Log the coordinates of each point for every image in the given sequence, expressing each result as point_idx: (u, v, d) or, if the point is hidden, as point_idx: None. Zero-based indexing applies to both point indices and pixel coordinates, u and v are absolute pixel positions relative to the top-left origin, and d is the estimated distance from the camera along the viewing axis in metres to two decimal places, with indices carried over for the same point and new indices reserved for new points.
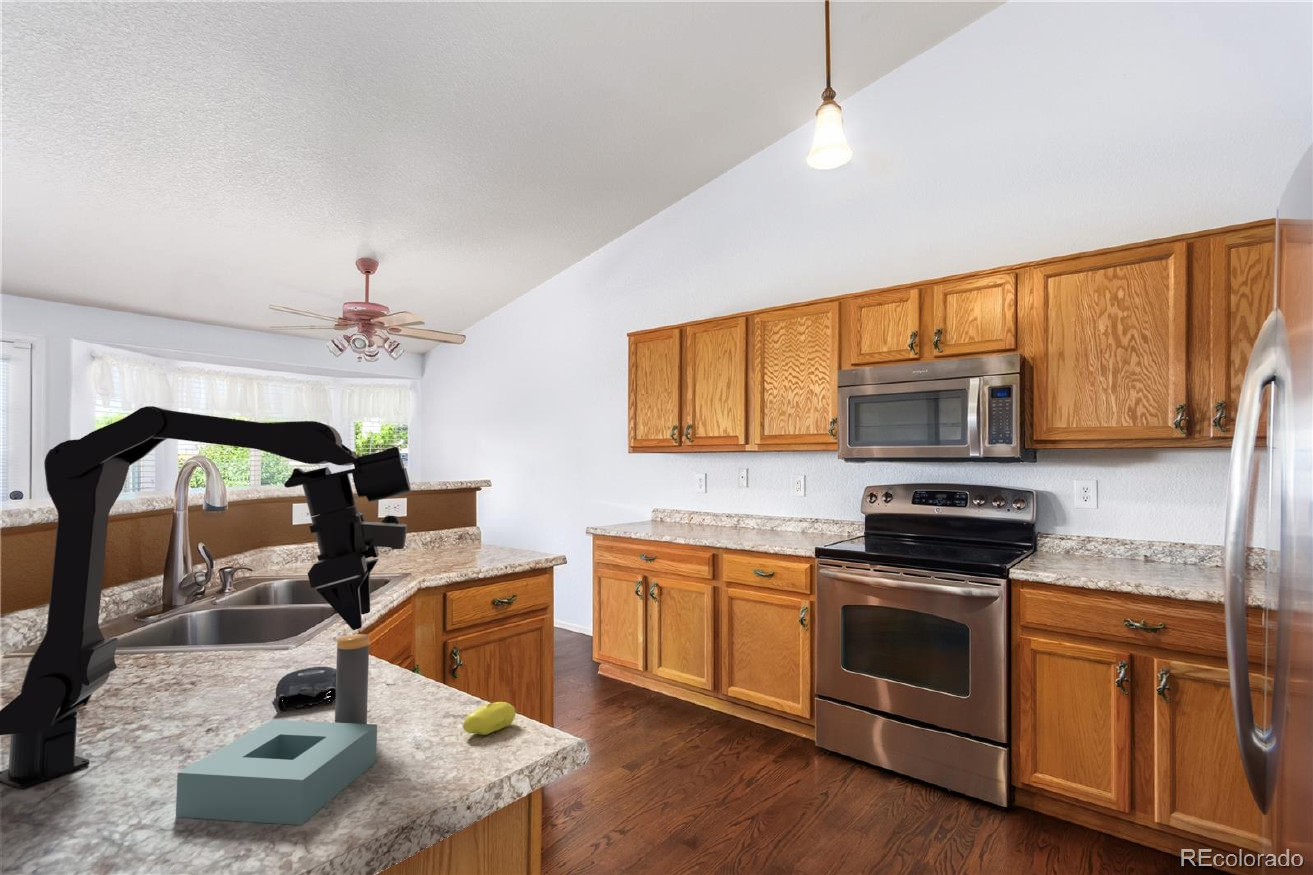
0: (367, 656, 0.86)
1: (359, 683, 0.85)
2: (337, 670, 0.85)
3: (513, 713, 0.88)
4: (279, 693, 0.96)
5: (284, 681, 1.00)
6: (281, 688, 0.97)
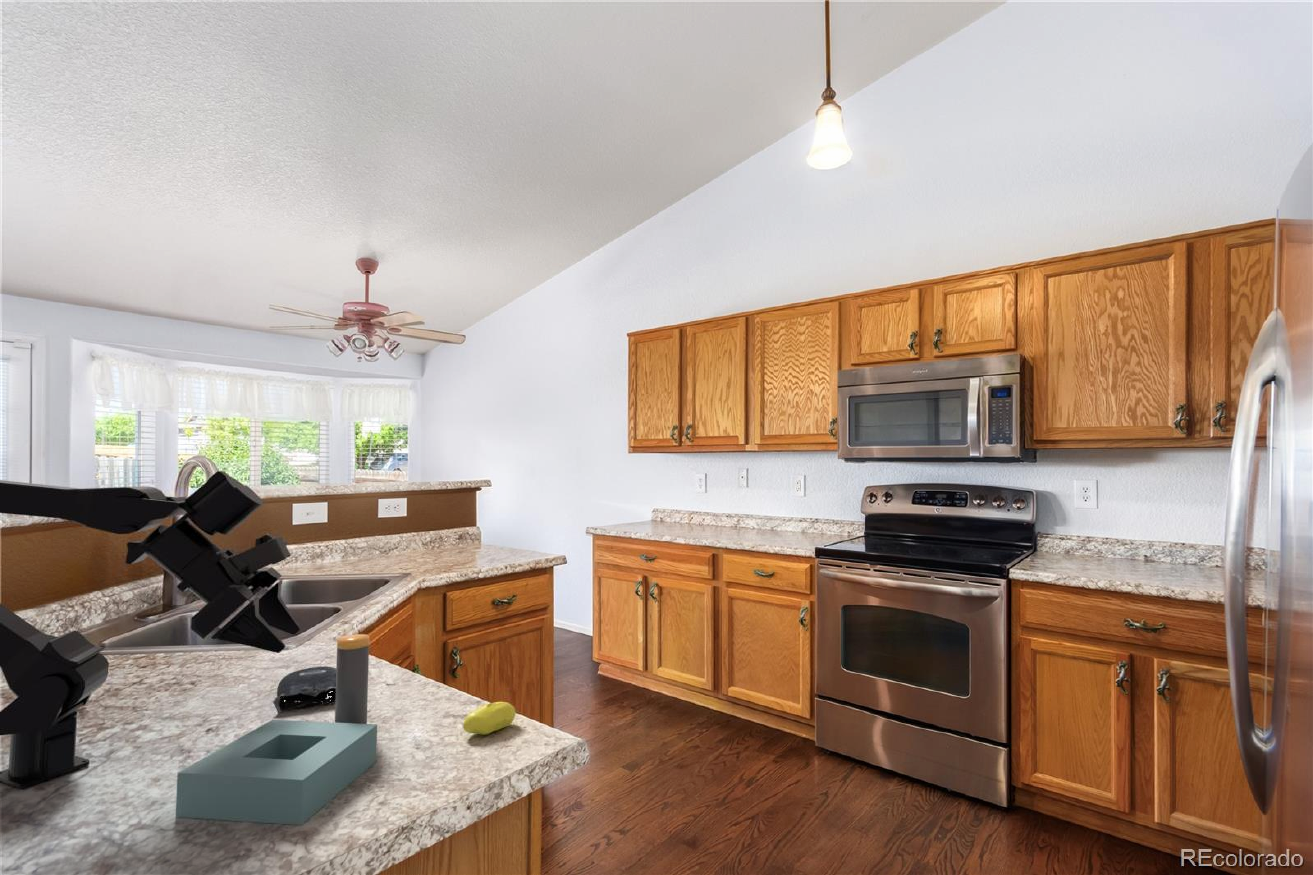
0: (367, 656, 0.86)
1: (359, 683, 0.85)
2: (337, 670, 0.85)
3: (513, 713, 0.88)
4: (280, 693, 0.96)
5: (285, 681, 1.00)
6: (282, 688, 0.97)
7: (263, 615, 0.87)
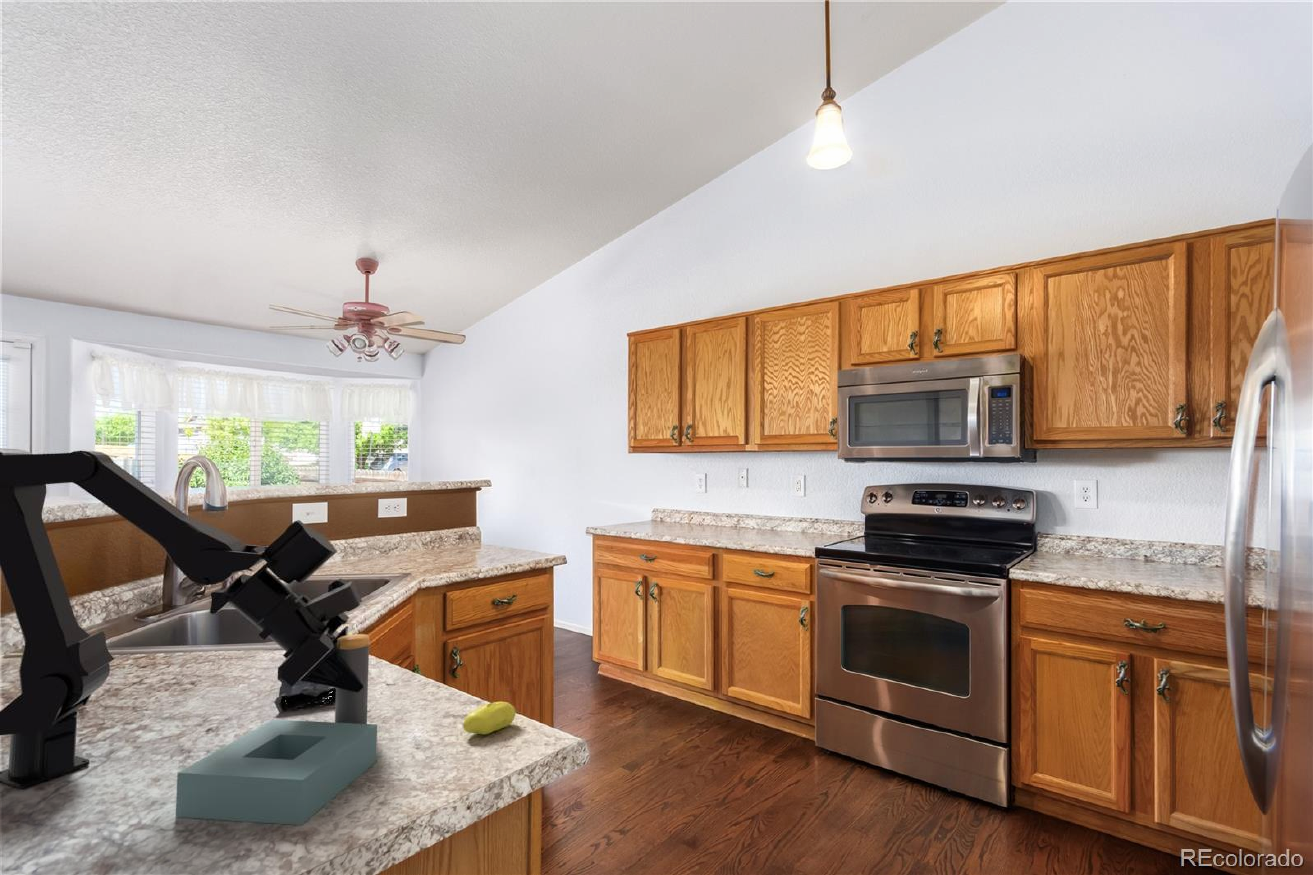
0: (367, 656, 0.86)
1: None
2: None
3: (513, 713, 0.88)
4: (282, 693, 0.96)
5: None
6: (284, 687, 0.97)
7: None
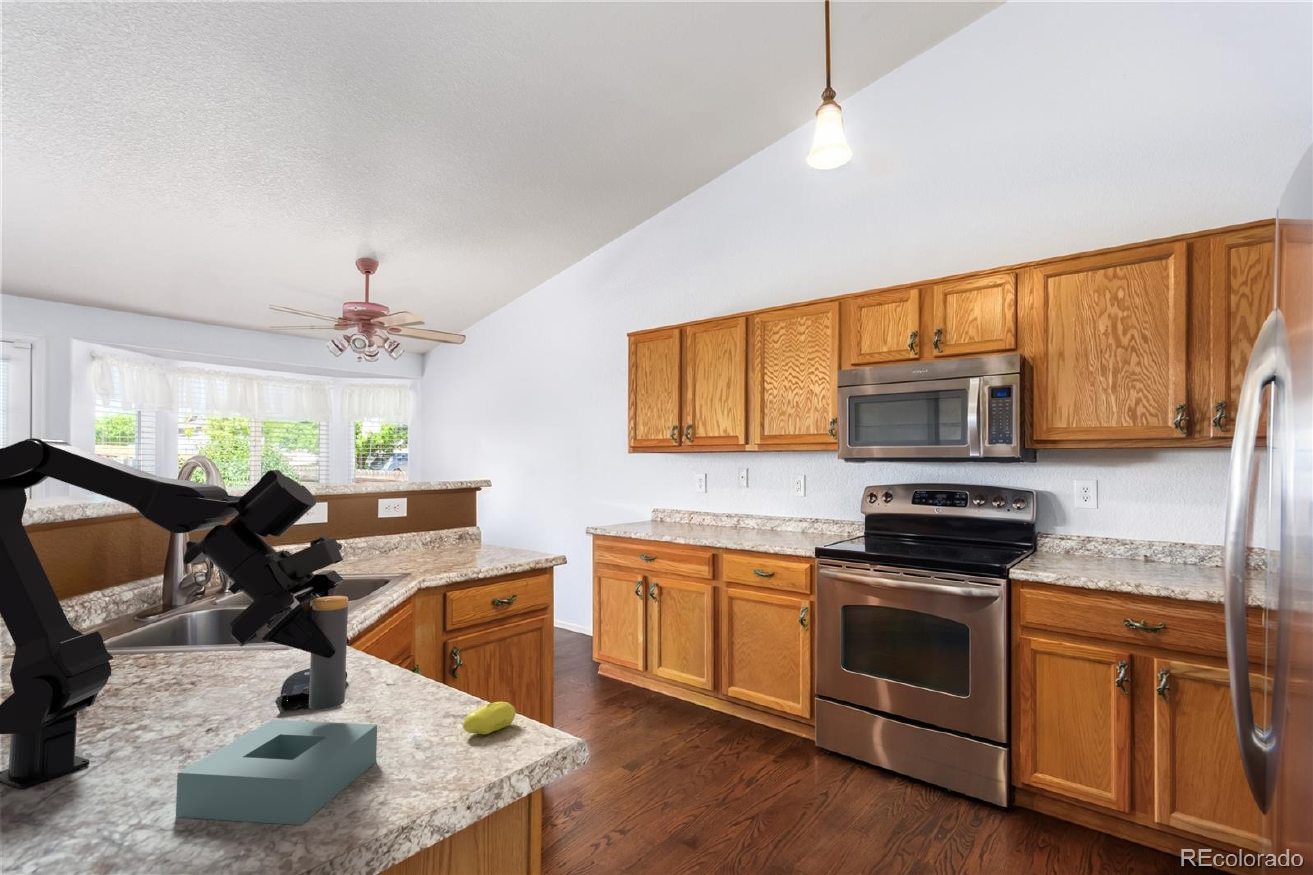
0: (343, 619, 0.79)
1: None
2: None
3: (513, 713, 0.88)
4: (283, 692, 0.96)
5: (290, 680, 1.00)
6: (286, 687, 0.97)
7: None
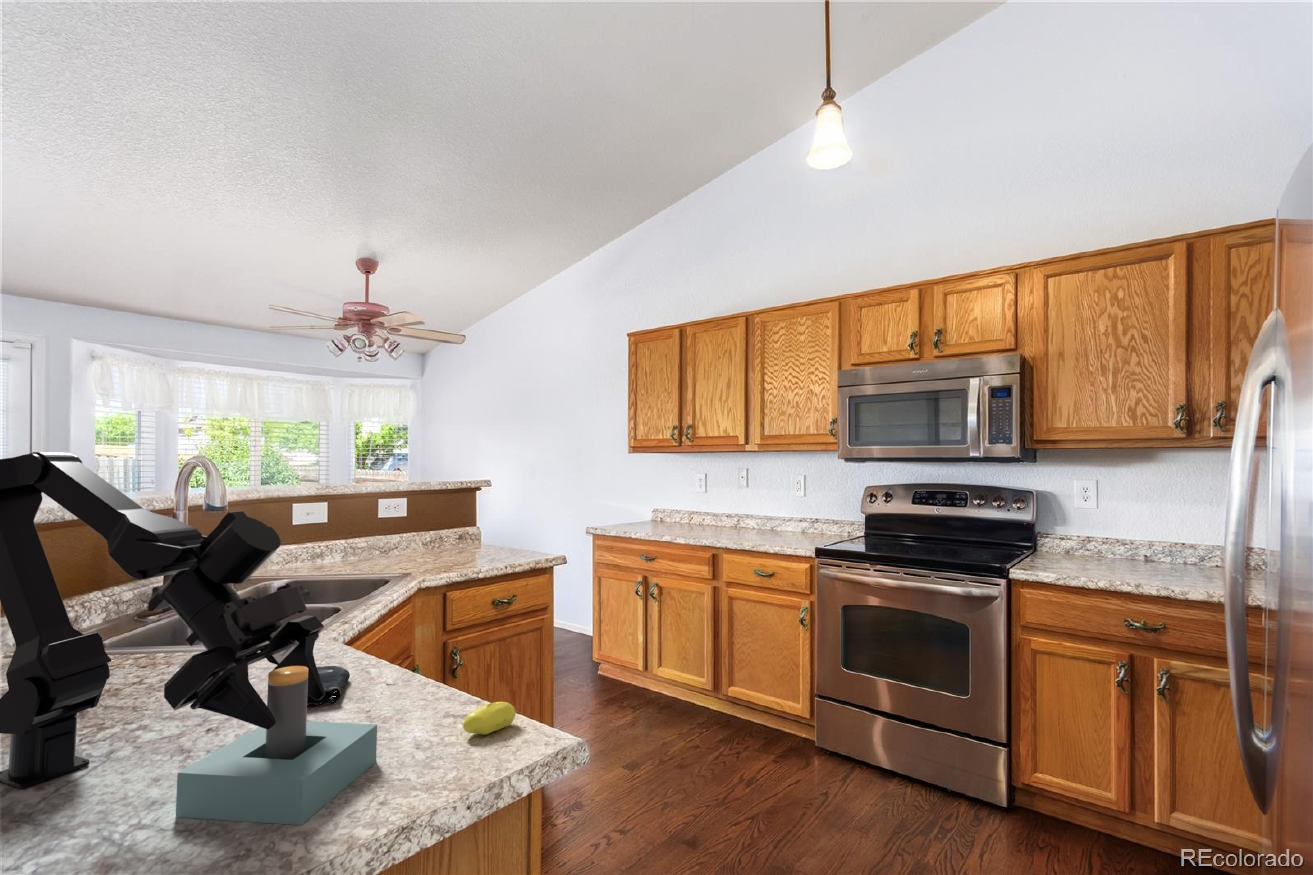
0: (299, 695, 0.71)
1: (286, 728, 0.70)
2: None
3: (513, 713, 0.88)
4: None
5: None
6: None
7: None
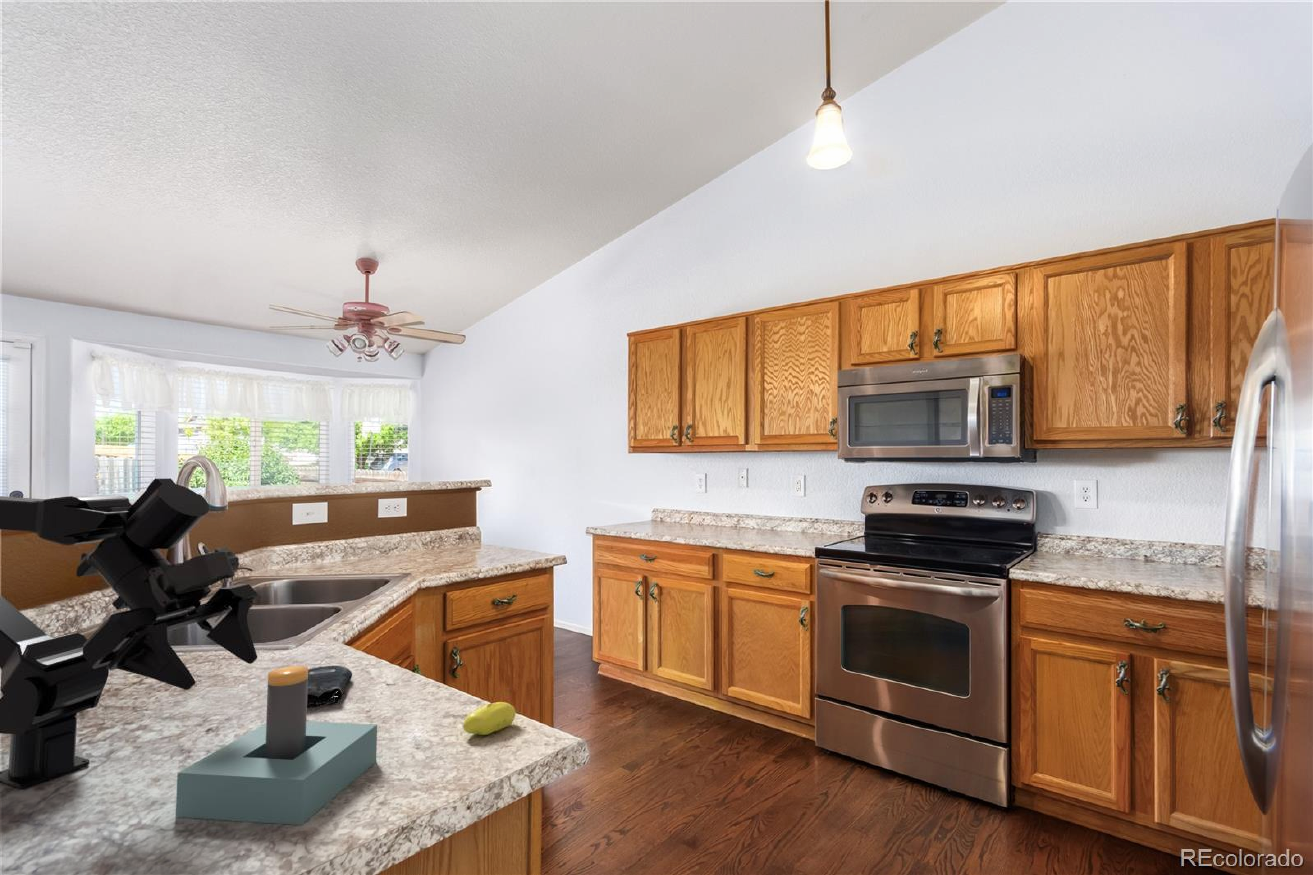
0: (298, 695, 0.71)
1: (285, 728, 0.70)
2: None
3: (513, 713, 0.88)
4: None
5: None
6: None
7: (223, 638, 0.78)
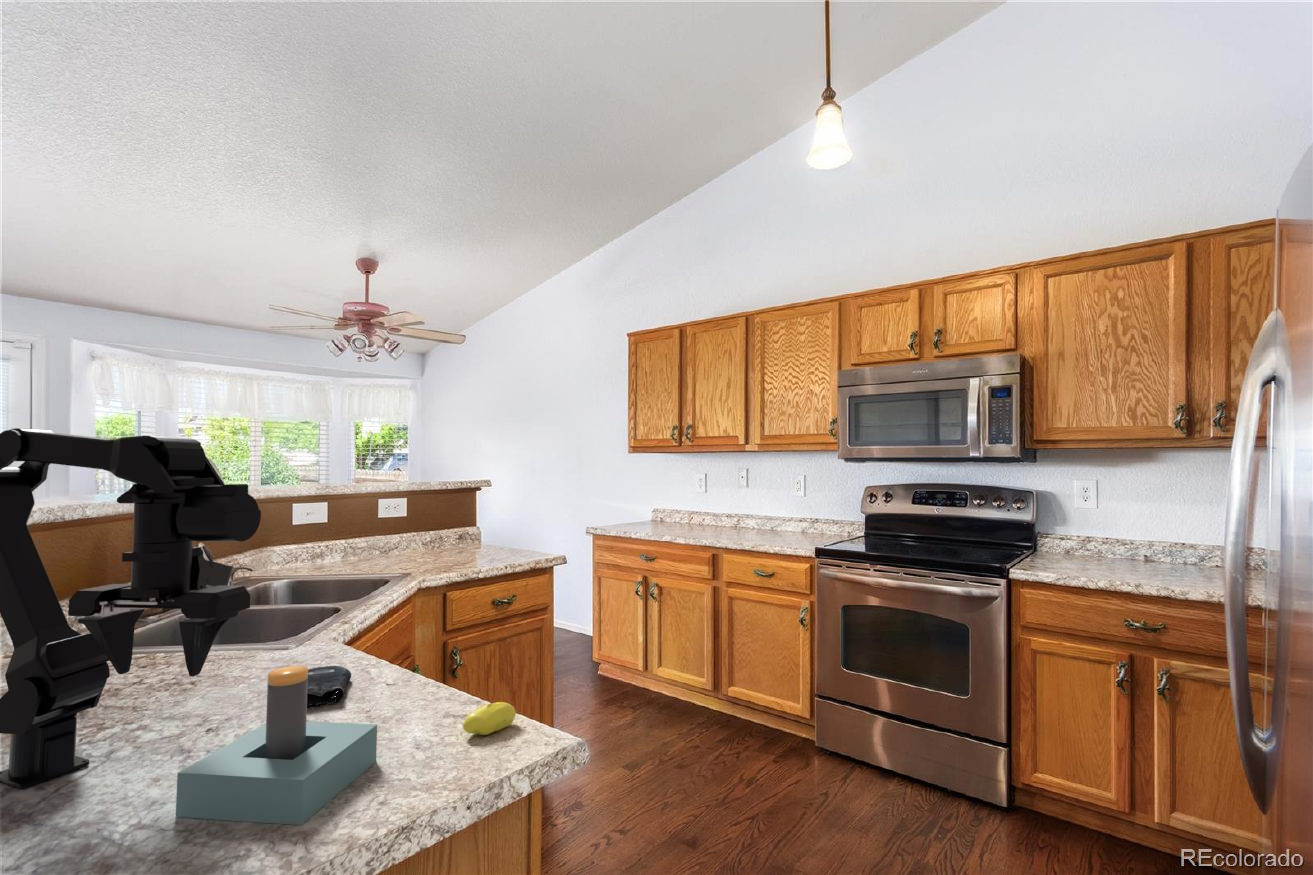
0: (298, 695, 0.71)
1: (285, 728, 0.70)
2: None
3: (513, 713, 0.88)
4: None
5: None
6: None
7: (112, 634, 0.73)
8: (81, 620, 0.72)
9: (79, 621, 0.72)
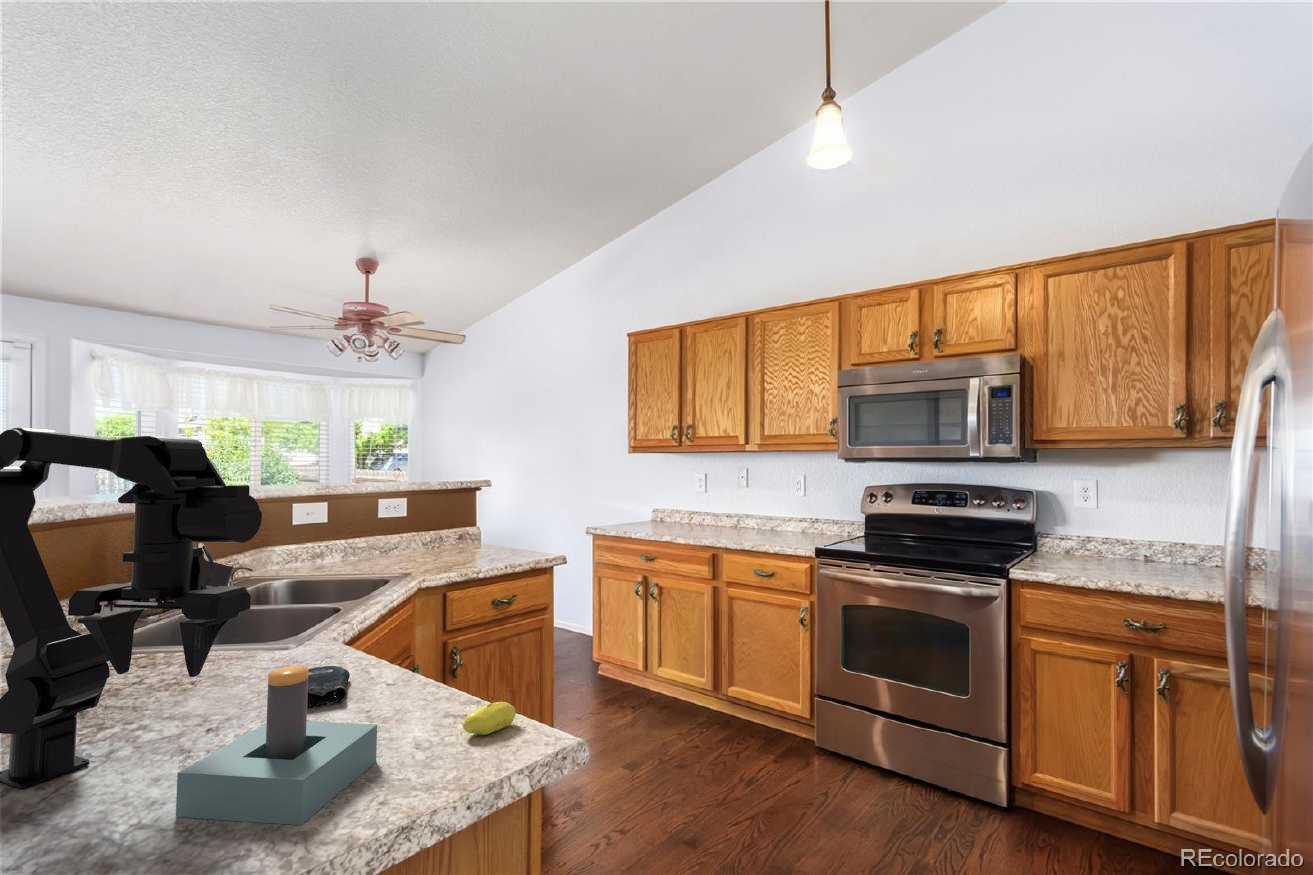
0: (299, 695, 0.71)
1: (286, 728, 0.70)
2: None
3: (513, 713, 0.88)
4: None
5: None
6: None
7: (112, 634, 0.73)
8: (81, 620, 0.72)
9: (79, 621, 0.72)
